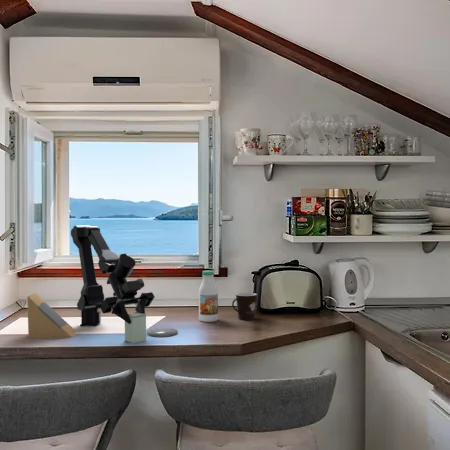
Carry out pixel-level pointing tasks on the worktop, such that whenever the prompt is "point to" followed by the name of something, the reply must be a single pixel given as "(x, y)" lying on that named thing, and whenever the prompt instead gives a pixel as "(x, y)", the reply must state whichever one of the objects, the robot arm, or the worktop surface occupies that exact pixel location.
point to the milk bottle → (208, 298)
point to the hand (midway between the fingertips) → (137, 321)
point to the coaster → (162, 332)
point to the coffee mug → (245, 305)
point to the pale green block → (136, 328)
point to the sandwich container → (46, 321)
